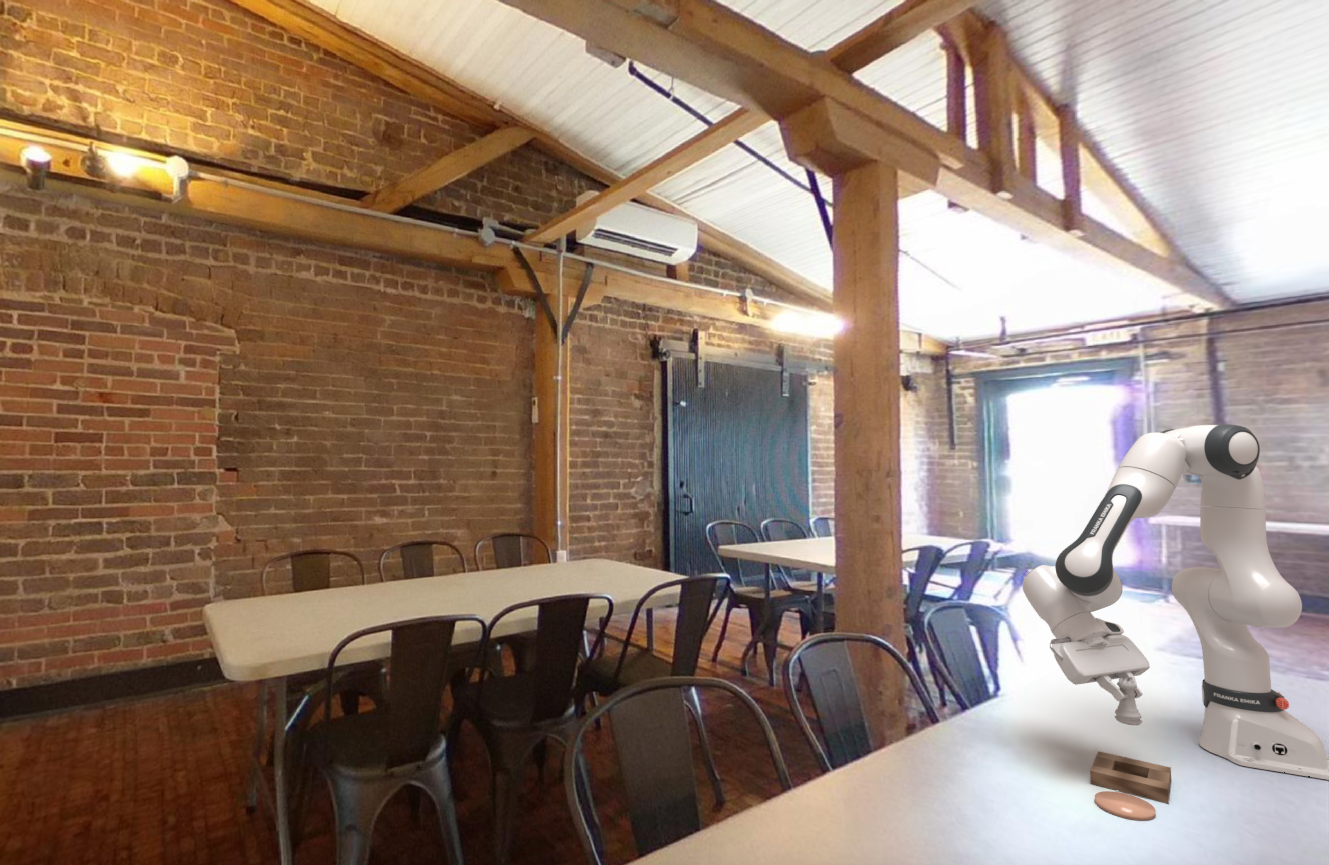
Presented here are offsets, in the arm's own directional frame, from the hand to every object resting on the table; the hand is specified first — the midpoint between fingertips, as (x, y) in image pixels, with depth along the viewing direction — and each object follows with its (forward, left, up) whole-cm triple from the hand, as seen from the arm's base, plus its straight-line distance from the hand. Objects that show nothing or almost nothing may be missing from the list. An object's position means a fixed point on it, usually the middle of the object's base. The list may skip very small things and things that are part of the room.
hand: (1130, 698), depth 129 cm
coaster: (+1, +13, -16) cm, 21 cm away
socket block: (+1, 0, -16) cm, 16 cm away
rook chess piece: (+1, 0, -5) cm, 5 cm away
